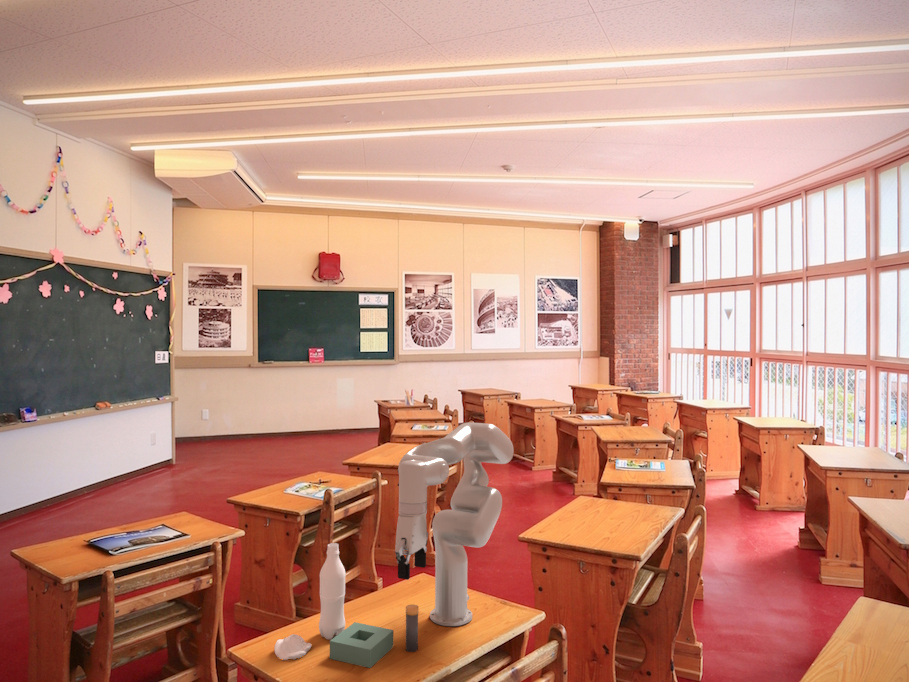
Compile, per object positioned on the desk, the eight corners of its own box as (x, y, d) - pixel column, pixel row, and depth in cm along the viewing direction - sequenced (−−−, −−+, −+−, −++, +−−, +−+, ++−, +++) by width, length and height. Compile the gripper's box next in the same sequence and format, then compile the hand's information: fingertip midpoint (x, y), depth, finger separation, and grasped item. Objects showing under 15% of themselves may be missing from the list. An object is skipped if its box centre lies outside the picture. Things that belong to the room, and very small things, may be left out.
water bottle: (313, 635, 170) (314, 544, 170) (334, 627, 175) (335, 539, 175) (328, 644, 165) (330, 550, 165) (350, 635, 170) (351, 544, 171)
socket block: (354, 638, 168) (354, 622, 168) (393, 647, 163) (393, 630, 163) (329, 658, 157) (329, 640, 157) (370, 668, 152) (370, 649, 152)
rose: (267, 633, 161) (301, 623, 168) (267, 650, 161) (301, 640, 167) (283, 648, 154) (318, 637, 160) (282, 666, 154) (318, 654, 160)
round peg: (408, 645, 164) (409, 603, 165) (420, 647, 163) (420, 605, 163) (403, 650, 161) (403, 608, 162) (414, 653, 160) (414, 610, 160)
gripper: (414, 499, 172) (414, 560, 172) (384, 513, 157) (383, 581, 156) (438, 502, 170) (438, 564, 169) (410, 517, 154) (410, 585, 153)
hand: (412, 572), depth 163 cm, fingers open, 9 cm apart
